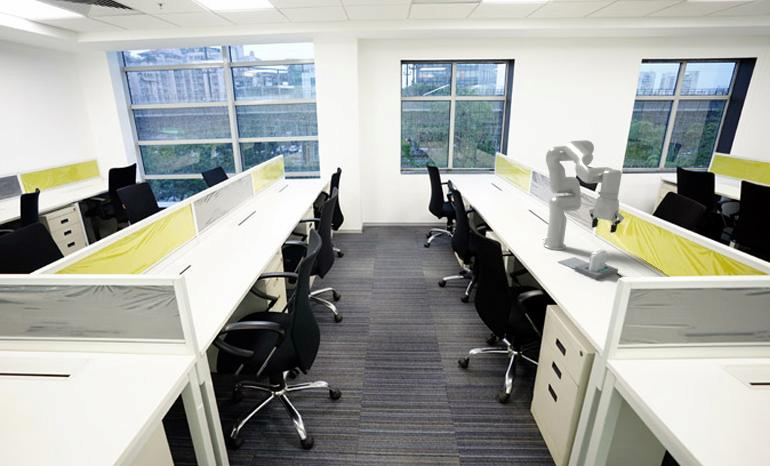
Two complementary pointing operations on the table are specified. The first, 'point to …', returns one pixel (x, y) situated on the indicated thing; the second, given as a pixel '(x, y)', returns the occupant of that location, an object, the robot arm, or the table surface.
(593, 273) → the charging dock
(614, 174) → the robot arm
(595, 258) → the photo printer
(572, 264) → the rubber mat
